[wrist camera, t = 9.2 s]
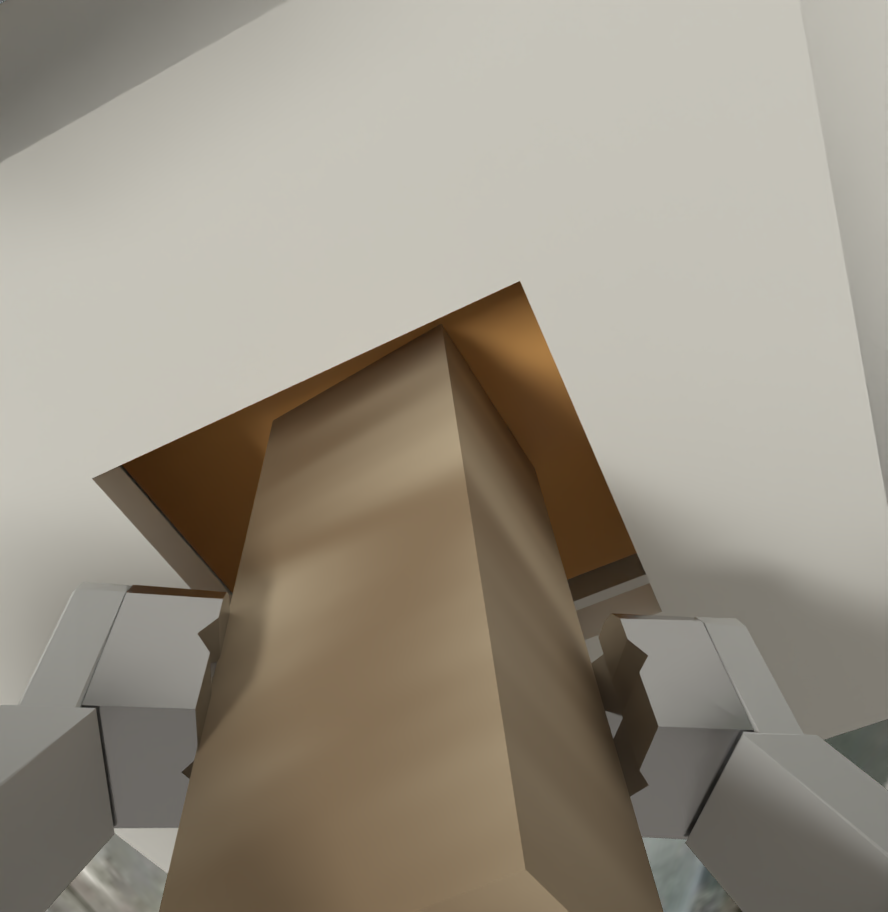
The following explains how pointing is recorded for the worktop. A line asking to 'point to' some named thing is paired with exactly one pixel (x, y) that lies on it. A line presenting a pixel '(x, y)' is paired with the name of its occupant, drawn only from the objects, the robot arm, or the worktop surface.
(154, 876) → the worktop surface
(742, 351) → the box
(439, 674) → the brown wooden block
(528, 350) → the button
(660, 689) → the robot arm
